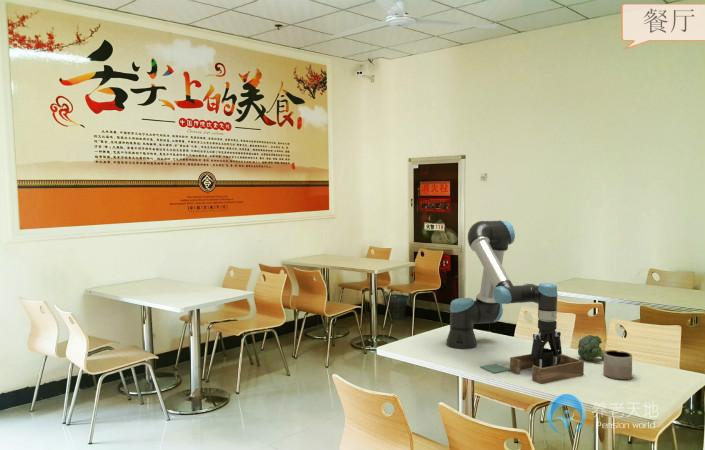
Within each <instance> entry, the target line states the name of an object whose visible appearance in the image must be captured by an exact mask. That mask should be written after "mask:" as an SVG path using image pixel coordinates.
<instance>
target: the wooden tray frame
mask: <svg viewBox="0 0 705 450" xmlns="http://www.w3.org/2000/svg"><path fill="white" fill-rule="evenodd" d="M560 356H561V361H560V363H559V364H558V365H556V366H551V367H545V368H540V367H537V366H534V361H533V357H531V353H530V354H523V355H518V356H511V357H510V358H509V359H510V360H509V361H510V362H509V369H510V371H509V372H511V373H514V374H516V375H521V371H523V370H530V369H531V370H532V372H531V373H532V374H531V376H532V377H531V378H532V379H531V380H532V381H533V382H535V383H538V384H541V385H542V384H546V383H552V382H557V381H562V380H568V379H572V378H577V377H581V376H585V375H584V371H585V369H584V368H585V365H584V364H585V361H584V360H581V359H578V358H575V357H572V356H569V355H566V354H563V353H562V354H560Z"/></svg>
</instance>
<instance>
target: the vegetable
mask: <svg viewBox="0 0 705 450" xmlns="http://www.w3.org/2000/svg"><path fill="white" fill-rule="evenodd" d="M578 341H579V342H578V345H577V347H578V349H577V353H578V356H579V357H580V358H582V359H585V360H586V361H591V359H593V358H594V359H595V358H601V359H602V360H604V352H605V351H606V350H605V349H602V347H601V346H600V344H602V343H603V341H602V339H601V337H600V336H599V335H591V334H589V335H587V336H583V337H582V338H580V339H579V340H578Z"/></svg>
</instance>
